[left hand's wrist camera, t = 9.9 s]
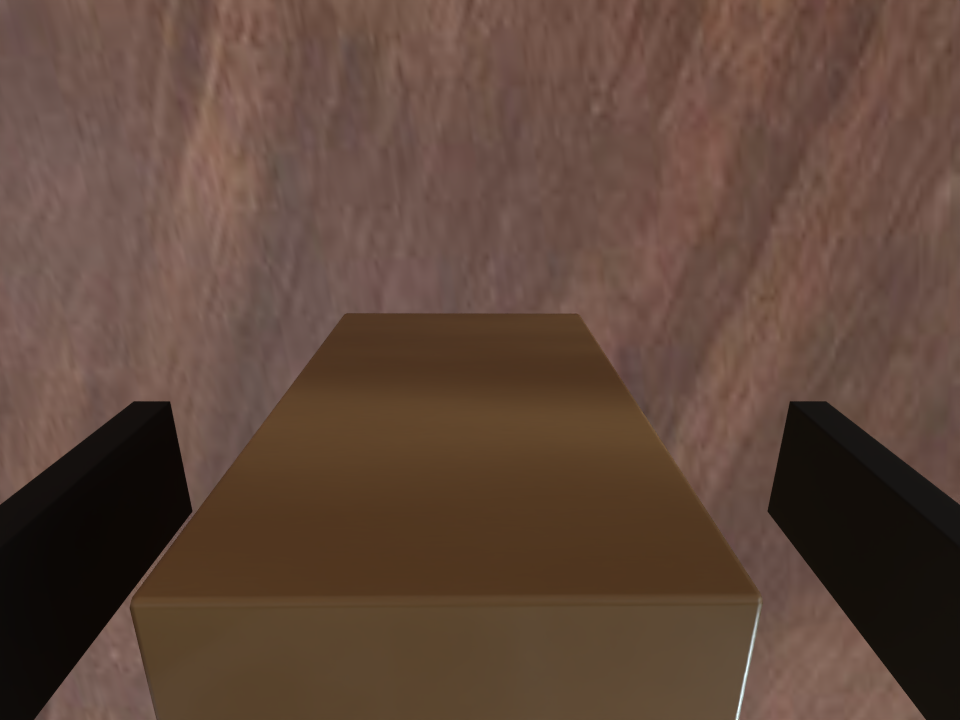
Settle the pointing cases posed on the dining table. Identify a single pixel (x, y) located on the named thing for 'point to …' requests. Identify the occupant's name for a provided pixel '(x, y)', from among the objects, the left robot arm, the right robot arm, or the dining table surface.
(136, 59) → the dining table surface
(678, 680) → the box
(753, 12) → the dining table surface
